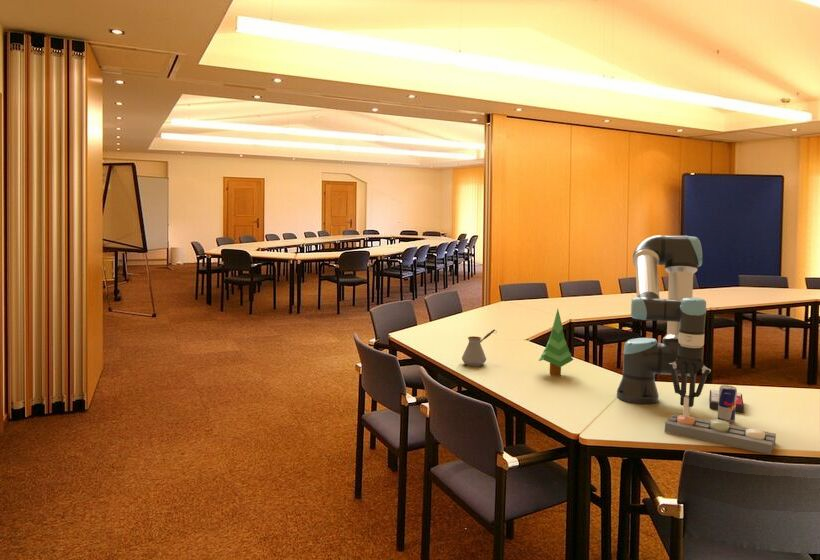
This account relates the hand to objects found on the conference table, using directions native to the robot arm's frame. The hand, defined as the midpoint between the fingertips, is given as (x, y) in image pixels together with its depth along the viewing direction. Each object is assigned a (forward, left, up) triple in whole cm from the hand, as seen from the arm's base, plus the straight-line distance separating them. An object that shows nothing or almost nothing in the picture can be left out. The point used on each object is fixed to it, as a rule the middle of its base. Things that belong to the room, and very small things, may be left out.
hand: (686, 415), depth 197 cm
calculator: (+6, +38, -6) cm, 39 cm away
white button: (+20, 0, -4) cm, 20 cm away
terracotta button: (0, 0, -4) cm, 4 cm away
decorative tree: (-62, +38, -5) cm, 73 cm away
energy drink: (+9, +19, -5) cm, 21 cm away
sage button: (+10, 0, -3) cm, 11 cm away
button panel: (+10, 0, -5) cm, 11 cm away
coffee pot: (-99, +36, -5) cm, 105 cm away
